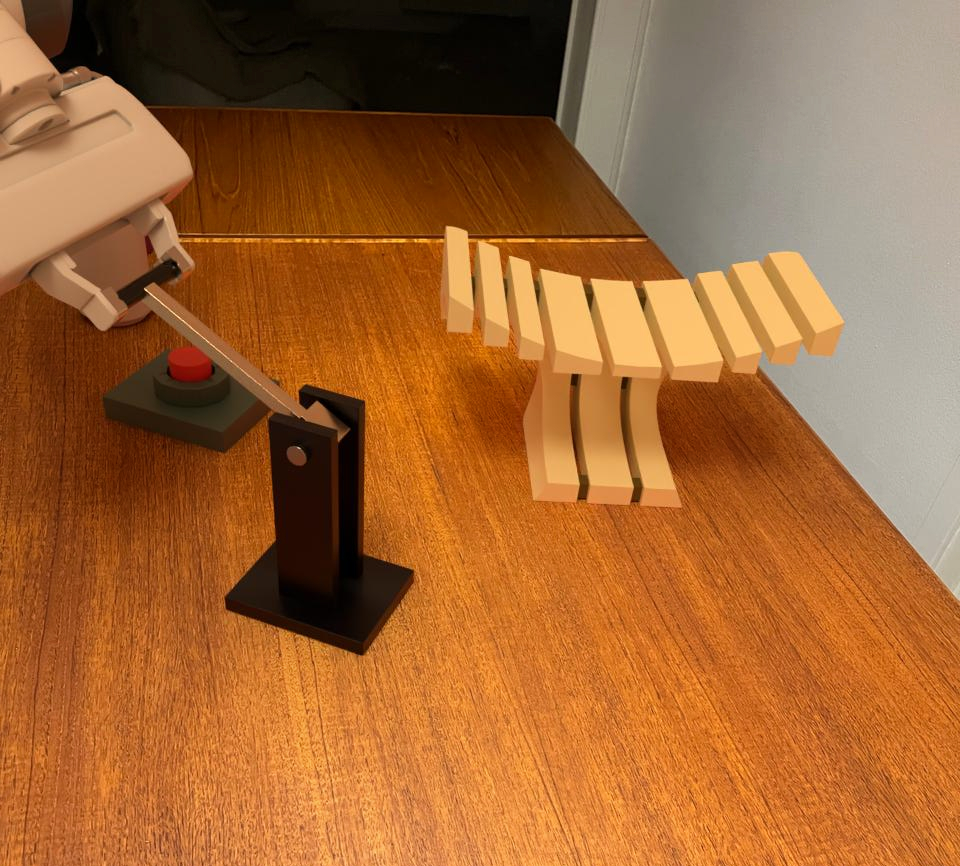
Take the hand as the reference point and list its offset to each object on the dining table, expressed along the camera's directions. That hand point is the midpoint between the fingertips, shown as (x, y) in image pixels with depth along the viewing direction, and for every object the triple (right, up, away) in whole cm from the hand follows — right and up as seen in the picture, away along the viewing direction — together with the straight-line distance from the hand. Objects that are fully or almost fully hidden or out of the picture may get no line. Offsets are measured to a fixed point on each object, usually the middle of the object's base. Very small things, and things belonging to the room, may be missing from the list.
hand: (151, 299), depth 63 cm
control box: (-5, 0, +28) cm, 29 cm away
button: (-5, +2, +26) cm, 27 cm away
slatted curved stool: (+31, -4, +29) cm, 43 cm away
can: (-17, +12, +41) cm, 46 cm away
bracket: (+9, -18, +12) cm, 23 cm away
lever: (+4, -5, +2) cm, 7 cm away
